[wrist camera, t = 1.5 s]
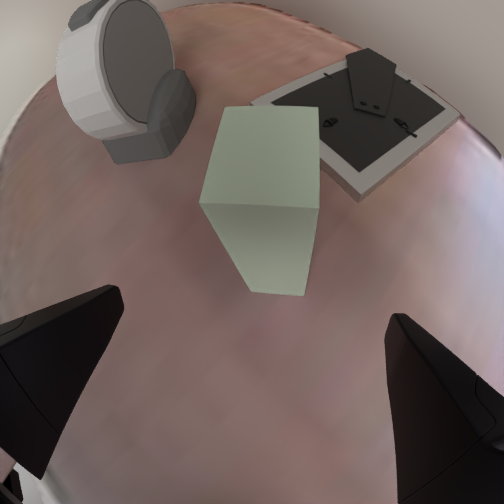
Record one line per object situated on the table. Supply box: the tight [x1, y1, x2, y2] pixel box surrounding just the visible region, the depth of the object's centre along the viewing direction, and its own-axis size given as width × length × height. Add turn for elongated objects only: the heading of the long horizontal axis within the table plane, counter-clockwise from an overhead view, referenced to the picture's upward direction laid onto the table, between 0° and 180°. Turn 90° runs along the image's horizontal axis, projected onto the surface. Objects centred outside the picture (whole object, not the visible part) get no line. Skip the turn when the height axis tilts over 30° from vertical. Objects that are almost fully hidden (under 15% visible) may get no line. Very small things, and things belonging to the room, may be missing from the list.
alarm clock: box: [56, 0, 196, 164], centre depth 22 cm, size 16×10×18 cm, turn 176°
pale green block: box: [199, 106, 320, 296], centre depth 16 cm, size 5×4×13 cm
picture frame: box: [249, 48, 460, 203], centre depth 26 cm, size 16×3×21 cm
